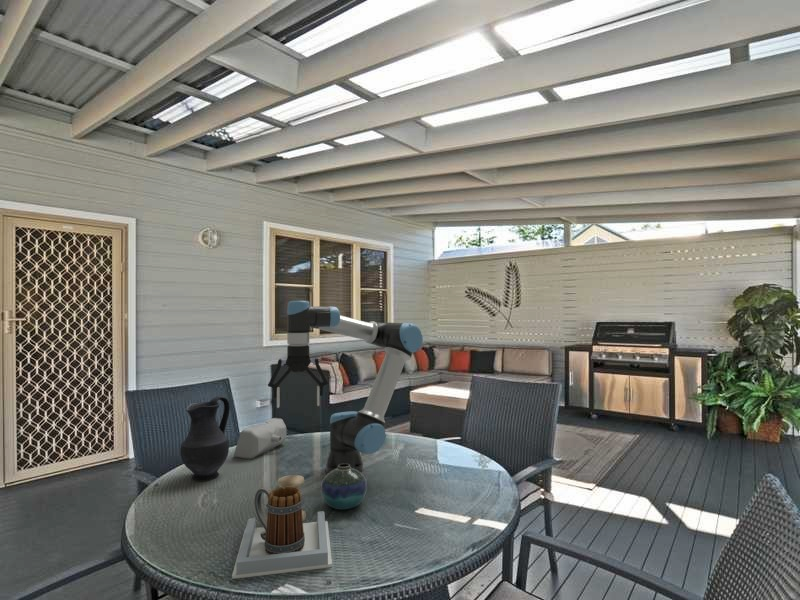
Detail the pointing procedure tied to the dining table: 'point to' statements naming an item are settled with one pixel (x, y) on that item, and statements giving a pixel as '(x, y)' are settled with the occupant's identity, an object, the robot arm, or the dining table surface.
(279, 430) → the tank
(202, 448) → the pitcher
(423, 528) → the dining table surface
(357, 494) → the vase
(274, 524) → the mug
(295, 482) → the bobbin
